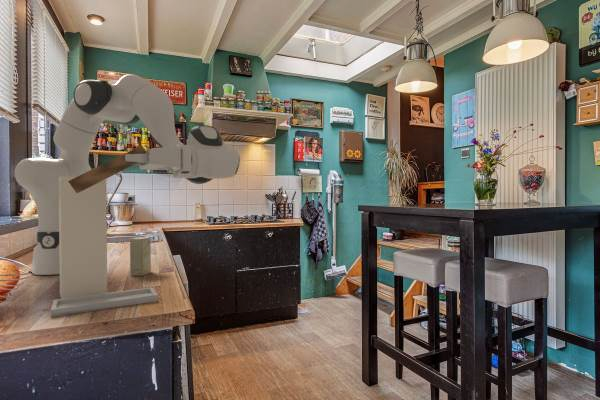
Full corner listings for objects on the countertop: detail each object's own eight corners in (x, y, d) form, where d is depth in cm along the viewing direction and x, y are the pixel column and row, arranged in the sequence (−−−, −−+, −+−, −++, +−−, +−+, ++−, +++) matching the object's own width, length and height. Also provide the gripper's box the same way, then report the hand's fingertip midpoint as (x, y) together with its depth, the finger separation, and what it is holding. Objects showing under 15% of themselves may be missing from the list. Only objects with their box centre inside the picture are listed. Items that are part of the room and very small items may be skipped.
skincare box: (143, 275, 115) (142, 238, 115) (129, 275, 115) (129, 238, 115) (151, 271, 121) (151, 236, 121) (138, 271, 121) (138, 236, 121)
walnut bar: (147, 157, 91) (140, 146, 90) (149, 156, 88) (142, 145, 87) (76, 193, 83) (68, 181, 82) (76, 193, 80) (68, 181, 79)
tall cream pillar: (102, 287, 100) (101, 178, 100) (107, 294, 93) (106, 177, 93) (59, 293, 94) (58, 177, 94) (61, 301, 87) (60, 176, 87)
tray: (152, 293, 94) (151, 287, 94) (157, 301, 87) (157, 294, 87) (53, 306, 83) (53, 299, 83) (51, 317, 75) (50, 309, 75)
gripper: (172, 153, 103) (119, 150, 95) (191, 144, 85) (128, 140, 78) (173, 175, 103) (120, 174, 95) (191, 170, 85) (128, 168, 78)
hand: (123, 158), depth 87 cm, fingers closed on walnut bar, 3 cm apart
